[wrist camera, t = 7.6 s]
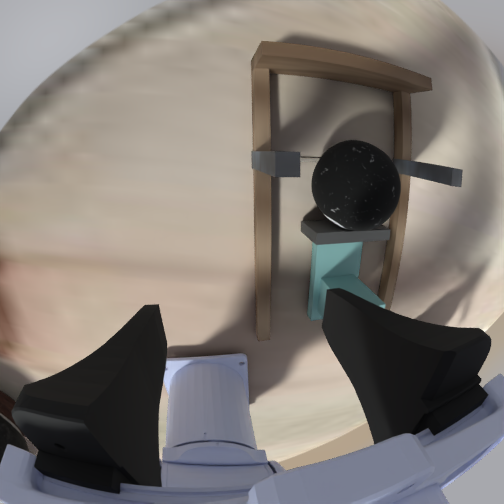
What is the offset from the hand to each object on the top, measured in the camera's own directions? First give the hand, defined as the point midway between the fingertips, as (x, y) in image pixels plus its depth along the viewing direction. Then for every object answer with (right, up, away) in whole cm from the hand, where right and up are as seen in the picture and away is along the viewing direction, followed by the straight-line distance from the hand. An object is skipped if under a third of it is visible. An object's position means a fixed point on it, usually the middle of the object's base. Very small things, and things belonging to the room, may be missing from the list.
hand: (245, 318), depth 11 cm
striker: (+7, +1, +11) cm, 13 cm away
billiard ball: (+7, +8, +9) cm, 14 cm away
